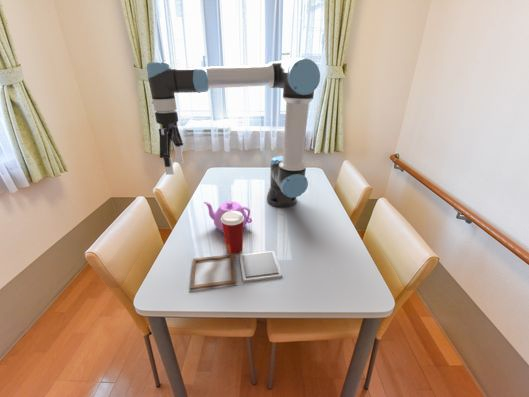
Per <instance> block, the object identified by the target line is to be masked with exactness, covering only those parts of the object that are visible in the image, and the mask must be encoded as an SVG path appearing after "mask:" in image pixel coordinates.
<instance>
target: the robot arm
mask: <svg viewBox="0 0 529 397" xmlns="http://www.w3.org/2000/svg"><path fill="white" fill-rule="evenodd" d="M146 69H147V70H146V72H147V79H148V85H149V88H150V89H149V90H150V95H151V98H152V101H151V104H152V105H153V109H154V111H155V113H154V115H155V116H154V117H155V122H156V124H158V125H161V128H159V129H158V135H159V158H161V159H162V160H163V165H164V171H165V175H172V176H173V175H175V172H174V166H173V160H172V156H171V149H172V148H171V146H172V143H173V145H174V146H173V149H174V156H175V161H176V163H184V158H183V156H184V155H183V150H182V146H184V143H183V140H182V137H181V133H180V130H179V126H178V122H179V118H178V116H179V115H178V112H177V101H176V97H175V96H176V95H175V94H180V93H181V94H182V93H186V94H187V93H206V92H208V91H209V89H221V88H243V87H246V88H247V87H263V86H264V87H265V86H268V87H269V88H270V89H282V91H283V92H282V98H283V100H284V101H285V102H286V104H285V106H286V107H285V118H284V119H285V120H284V137H283V152H282V155H279V156H274V157H272V158H271V160H270V164H269V166H270V181H269V183H270V185H269V186H270V187H269V189H268V192H267V194H266V202H267V204H269V205H271V206H273V207H276V208H287V207H288V208H289V207H292V206H293V205H295V204H296V203H297V198H298V197H301V196H302V194H304V193H305V192H306V191H307V189H308V186H309V181H308V178H307V177H306V168H307V165H306V164H305V162H304V155H305V154H304V153H305V143H306V136H307V126H308V125H307V123H308V115H309V105H310V103H311V101H313V99H314V95H315V94H314V93H315V90H316V89H318V87H319V85H320V81H321V72H320V69H319V66H318V65H317V63H316V62H315V61H314V60H312V59H309V58H307V57H296V58H294V57H293V58H289V59H284V60H279V61H270V62H269V63H267V64H260V65H259V64H258V65H257V64H256V65H238V66H237V65H234V66H233V65H231V66H209V67H208V66H205V67H187V68H172V67H171V64H170V62H165V61H164V62H163V61H162V62H160V61H159V62H156V61H155V62H148V63H147V64H146Z"/></svg>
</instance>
